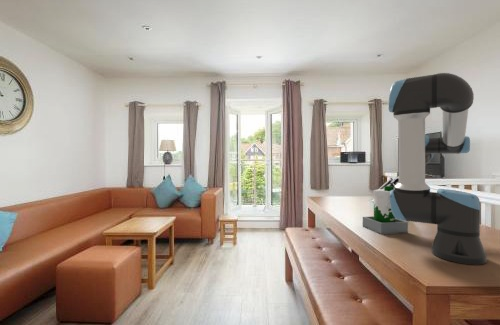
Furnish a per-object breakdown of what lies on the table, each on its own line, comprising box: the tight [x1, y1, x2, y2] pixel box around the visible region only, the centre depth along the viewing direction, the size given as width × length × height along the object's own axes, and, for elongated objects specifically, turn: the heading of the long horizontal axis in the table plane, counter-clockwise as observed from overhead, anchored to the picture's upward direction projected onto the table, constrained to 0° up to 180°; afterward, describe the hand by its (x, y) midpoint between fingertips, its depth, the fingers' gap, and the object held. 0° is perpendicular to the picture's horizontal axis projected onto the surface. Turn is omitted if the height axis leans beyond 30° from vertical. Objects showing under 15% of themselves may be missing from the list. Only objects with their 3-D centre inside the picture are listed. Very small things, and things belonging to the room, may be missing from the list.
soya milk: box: [372, 185, 395, 223], centre depth 125 cm, size 9×9×20 cm
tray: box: [362, 215, 409, 235], centre depth 125 cm, size 14×14×5 cm
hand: (380, 204), depth 125 cm, fingers closed on soya milk, 9 cm apart
